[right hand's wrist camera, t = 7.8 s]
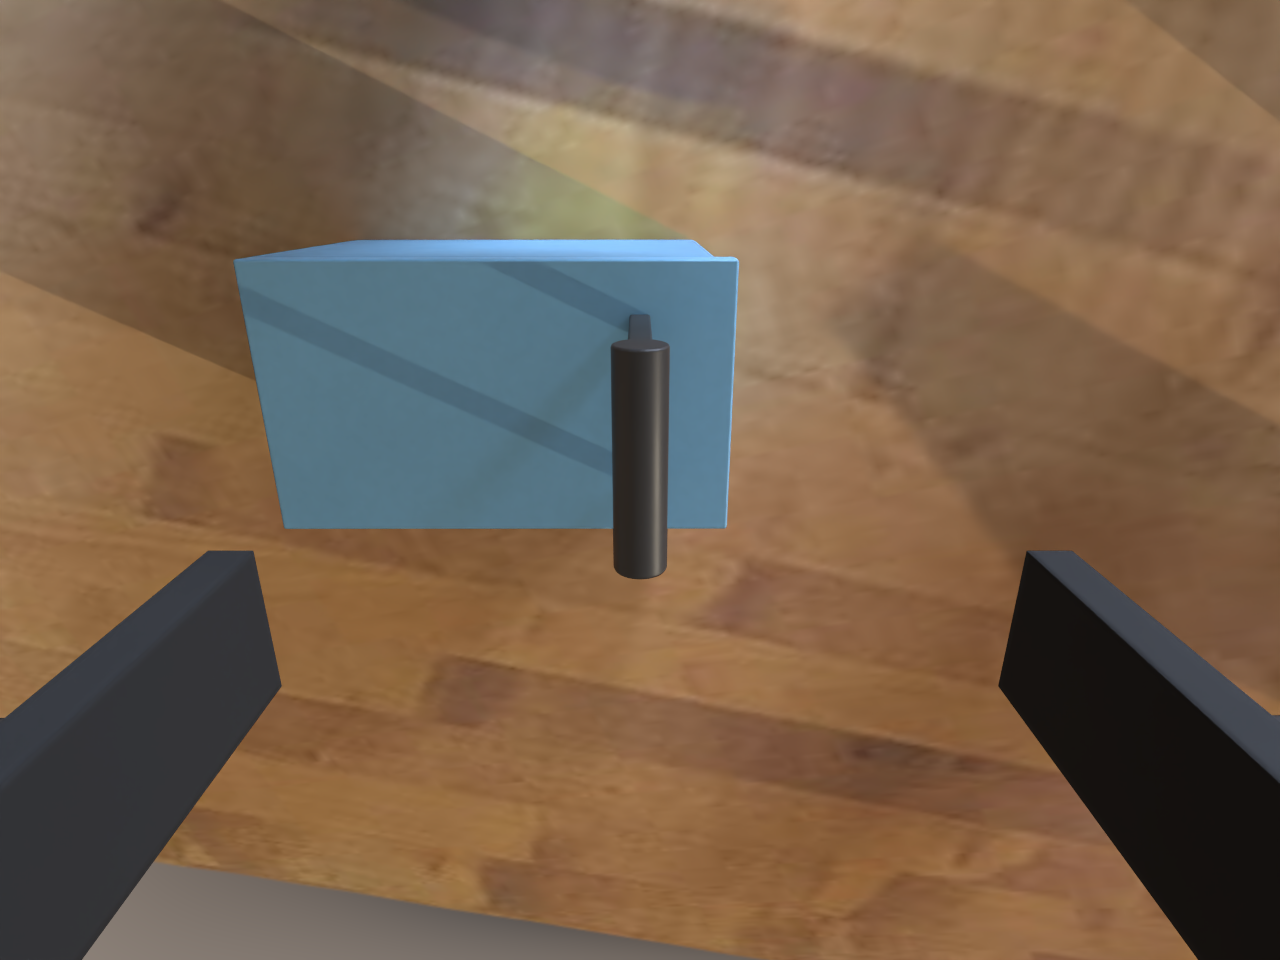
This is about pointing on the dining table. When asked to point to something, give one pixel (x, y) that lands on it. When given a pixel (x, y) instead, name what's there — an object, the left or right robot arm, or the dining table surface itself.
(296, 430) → the lid
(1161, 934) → the dining table surface
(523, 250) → the chest
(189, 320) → the dining table surface
